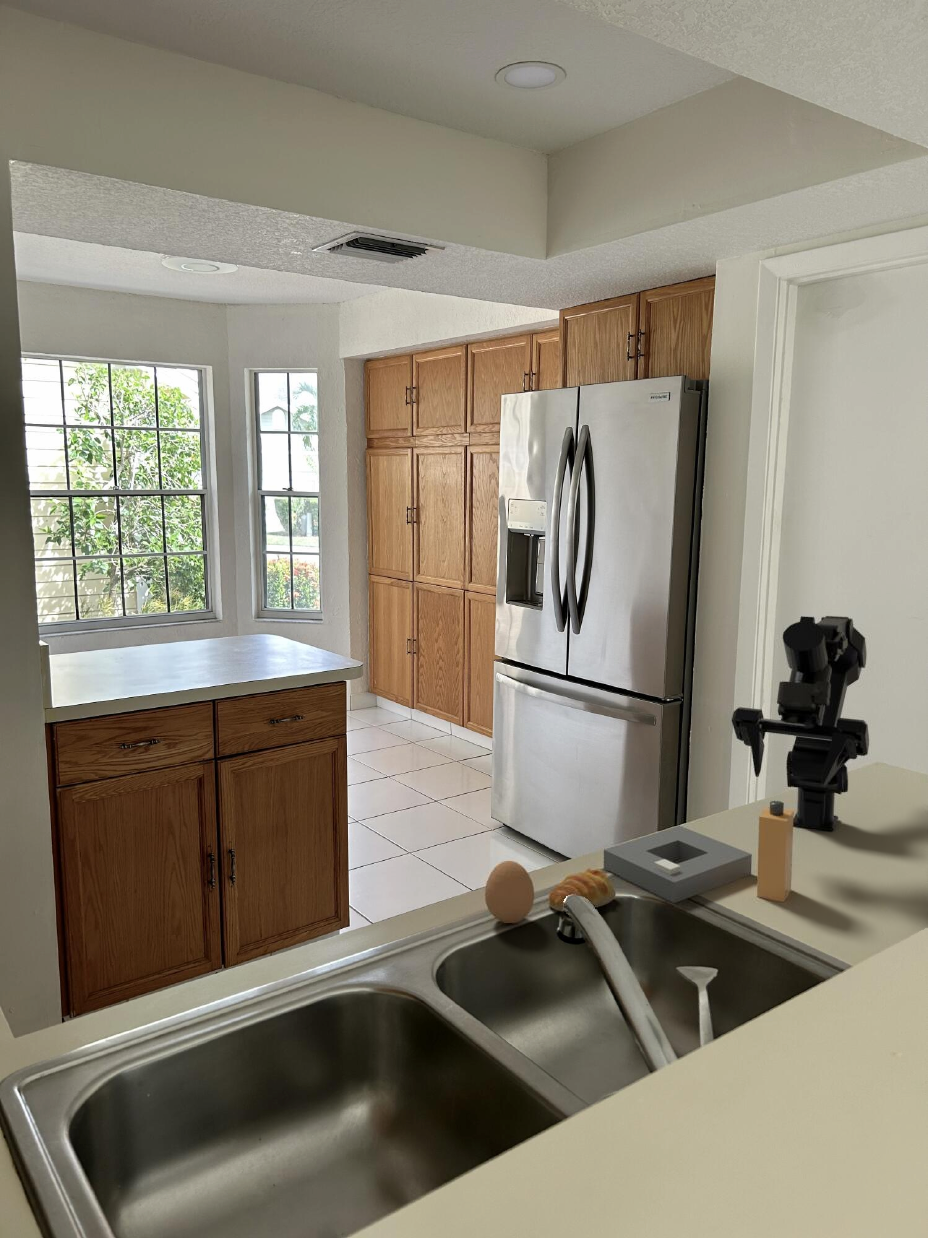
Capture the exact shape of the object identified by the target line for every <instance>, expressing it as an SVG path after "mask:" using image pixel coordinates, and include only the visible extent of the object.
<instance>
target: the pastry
mask: <svg viewBox="0 0 928 1238" xmlns="http://www.w3.org/2000/svg"><path fill="white" fill-rule="evenodd" d="M616 892H617V891H616V890H615V888H614V885H613V883H612V882H611V880H610V877H609V876H608V874H607V873H605V872H604V871H603V870H601V869H599V868H589V867H587V868H586V870H583V871H580V872H578V873H573V874H570V875H567V876H566V877H565V878H564V879H563V880H562V881H561V882H560V883H559V884H558V885H557V886H556V887H554V888H553V889H552V891H551V892H550V893H549V895H548V898H549V902H548V903H549V904H548V906H550V908H552V909H554V910H557V911H559V912H562V910H563V901H564V899H565V898H566V896H568V895H571V894H576V895H580V896H583V897H585V898H586V899H588V900H589V901H590V902H592V904H594V905H595V907H596V908H600V907H602V906H605V905H607V904H609V903H612V901H613V900H614V899H615V898H616Z"/></svg>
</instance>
